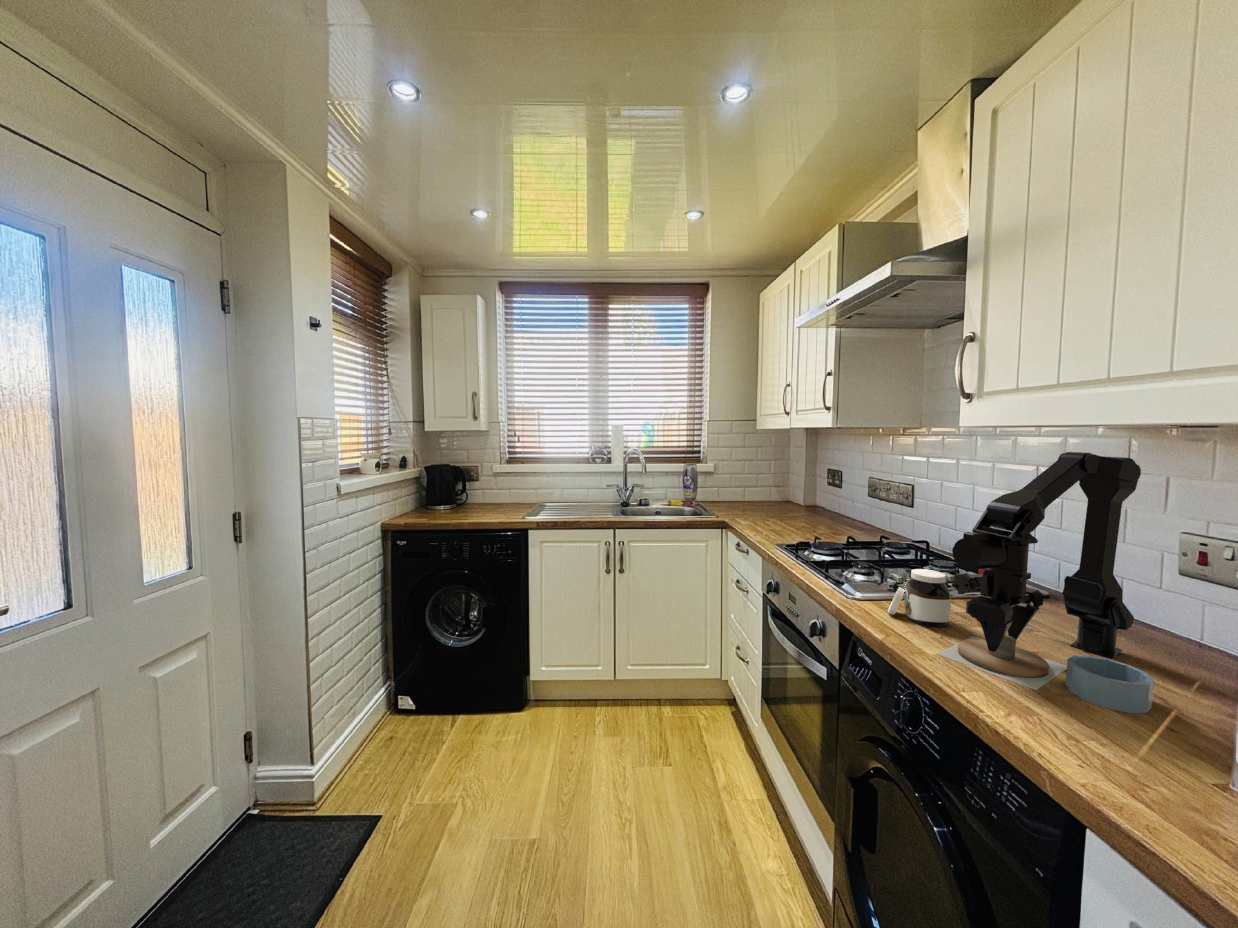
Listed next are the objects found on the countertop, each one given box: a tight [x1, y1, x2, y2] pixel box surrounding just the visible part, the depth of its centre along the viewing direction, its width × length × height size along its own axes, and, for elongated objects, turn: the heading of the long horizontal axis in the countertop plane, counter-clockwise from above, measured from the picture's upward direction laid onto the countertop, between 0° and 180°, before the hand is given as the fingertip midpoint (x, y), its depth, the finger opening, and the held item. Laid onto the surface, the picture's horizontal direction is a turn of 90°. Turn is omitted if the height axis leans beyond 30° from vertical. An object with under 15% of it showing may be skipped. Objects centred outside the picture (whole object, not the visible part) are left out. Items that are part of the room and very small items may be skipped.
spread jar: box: [887, 568, 952, 628], centre depth 117 cm, size 12×11×12 cm
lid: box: [957, 634, 1049, 678], centre depth 96 cm, size 14×14×4 cm
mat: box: [936, 635, 1067, 691], centre depth 96 cm, size 16×16×1 cm
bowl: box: [1065, 654, 1155, 714], centre depth 83 cm, size 10×10×5 cm
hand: (1002, 645), depth 96 cm, fingers open, 9 cm apart
